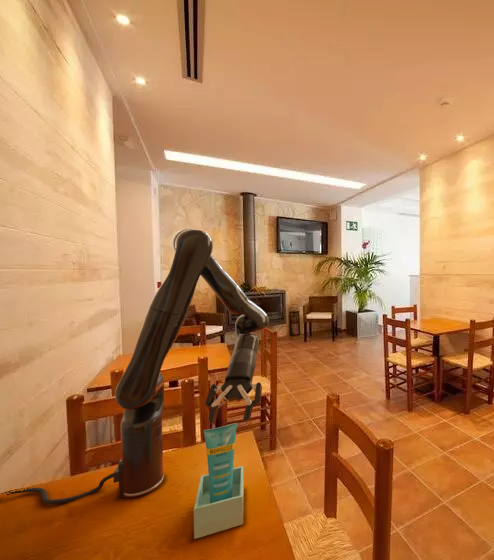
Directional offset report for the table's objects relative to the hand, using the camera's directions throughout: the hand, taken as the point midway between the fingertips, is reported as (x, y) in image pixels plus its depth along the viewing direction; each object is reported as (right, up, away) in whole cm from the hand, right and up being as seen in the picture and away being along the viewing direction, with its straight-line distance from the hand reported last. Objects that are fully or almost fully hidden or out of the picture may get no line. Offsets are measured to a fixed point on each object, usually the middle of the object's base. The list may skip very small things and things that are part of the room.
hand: (228, 422), depth 82 cm
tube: (+1, -18, -5) cm, 18 cm away
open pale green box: (+1, -21, -5) cm, 21 cm away
